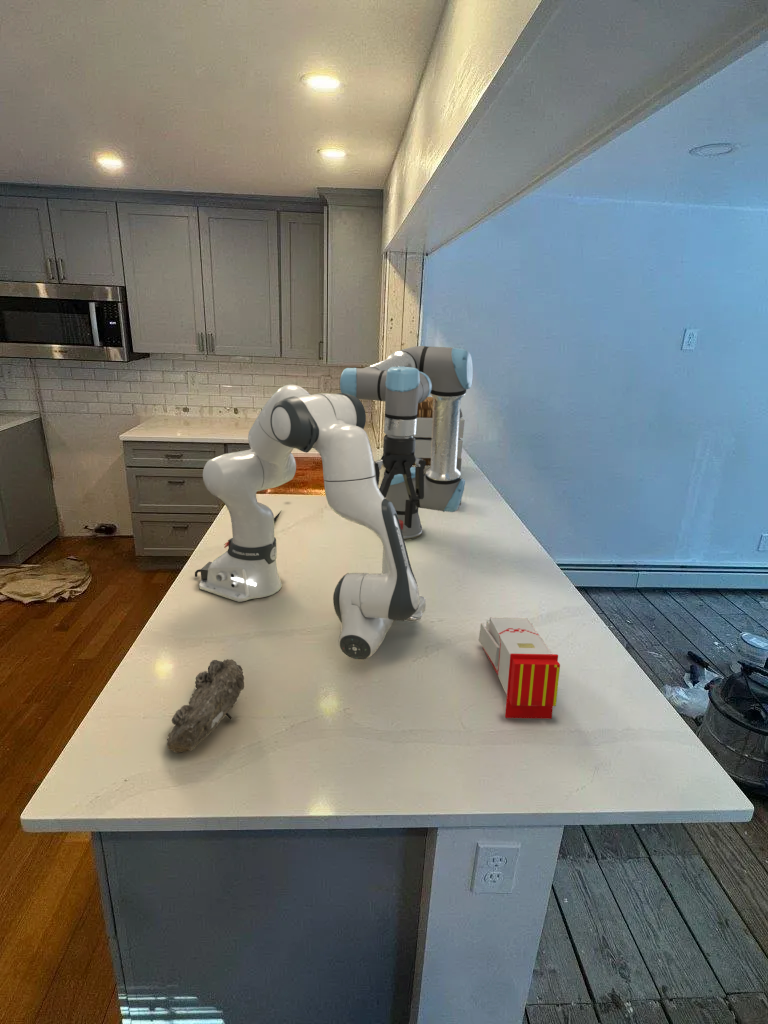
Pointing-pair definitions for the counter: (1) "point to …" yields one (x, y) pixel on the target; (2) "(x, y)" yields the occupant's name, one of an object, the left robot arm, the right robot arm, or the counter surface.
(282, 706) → the counter surface
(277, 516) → the feather
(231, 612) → the counter surface
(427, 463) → the grey slatted box
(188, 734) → the fossil
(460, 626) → the counter surface
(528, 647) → the toy
